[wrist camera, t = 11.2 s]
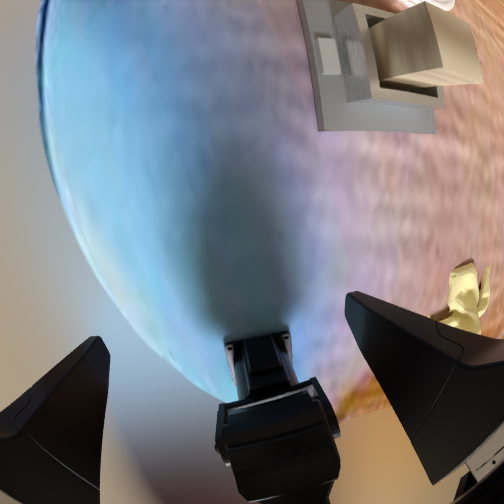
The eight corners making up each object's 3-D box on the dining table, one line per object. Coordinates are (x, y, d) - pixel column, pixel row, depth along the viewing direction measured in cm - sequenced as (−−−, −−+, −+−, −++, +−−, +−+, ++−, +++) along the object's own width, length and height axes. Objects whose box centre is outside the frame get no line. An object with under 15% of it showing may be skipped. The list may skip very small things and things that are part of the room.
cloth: (444, 366, 38) (461, 386, 32) (386, 362, 32) (407, 392, 27) (507, 261, 31) (530, 276, 25) (470, 219, 26) (505, 235, 20)
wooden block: (403, 90, 17) (484, 83, 9) (362, 85, 17) (443, 67, 9) (395, 45, 16) (469, 23, 7) (353, 37, 15) (424, 0, 7)
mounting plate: (427, 133, 20) (440, 134, 19) (318, 131, 19) (327, 130, 18) (409, 24, 16) (420, 19, 14) (296, 1, 14) (303, -8, 13)
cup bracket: (418, 109, 18) (445, 109, 15) (347, 102, 17) (371, 98, 14) (405, 34, 15) (429, 26, 12) (332, 18, 14) (352, 2, 11)
